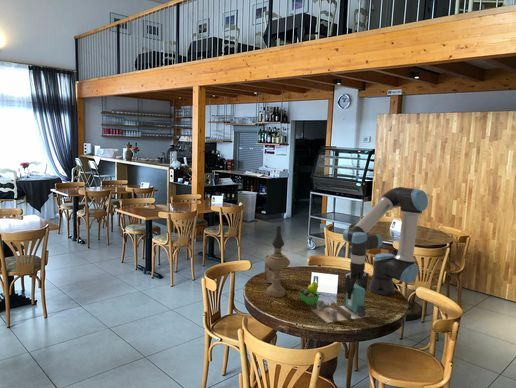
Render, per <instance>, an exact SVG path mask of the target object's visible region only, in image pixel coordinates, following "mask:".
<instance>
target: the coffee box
mask: <svg viewBox="0 0 516 388" xmlns="http://www.w3.org/2000/svg"><path fill="white" fill-rule="evenodd" d="M269 255H270V254H269ZM269 255H268V254H267V255H266V256H265V258H264V260H265V259H266V258H267V257H268V256H269ZM279 274H280V275H281V271H280V272H279ZM273 275H274V270H273V269H272V268H270V267H268V266H267V265H266V264H265V263H264V278H263V279H264V280H263V281H264V283H268V284H272V279H271V277H272V276H273Z"/></svg>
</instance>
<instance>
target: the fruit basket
mask: <svg viewBox="0 0 516 388" xmlns="http://www.w3.org/2000/svg"><path fill="white" fill-rule="evenodd" d="M318 287H319V285H318V282H316V281H313V282H312V283H311V284H309V285H308V286H307V289H301V290H300V289H299V291H298V292H299V296H300V300H301V301H302V302H304V304H306V305H308V306H309V305H317V301H318V300H319V298H320V295H319V294H317V292H318Z"/></svg>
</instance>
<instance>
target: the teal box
mask: <svg viewBox="0 0 516 388" xmlns="http://www.w3.org/2000/svg"><path fill="white" fill-rule="evenodd" d="M345 293H346V292H345ZM352 294H353V302H352V306H350V305H349V304H348V298H347V297H348V293H346V295H345V297H346V306H347V307H348V308H350V309H351V310H353V311H354V312H358V308H359V306H365V294H366V291H365V289H364V288H362V287H360V286H359V285H358V283H355V284H354V287H353V291H352Z"/></svg>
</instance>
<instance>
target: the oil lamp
mask: <svg viewBox="0 0 516 388" xmlns="http://www.w3.org/2000/svg"><path fill="white" fill-rule="evenodd" d="M275 232H276V233H275V236H274V238H273V240H272V242H271V245H272V246H273V250H274V252H273V253H271V254H269V256H268V257H267V258H266V257H265V258H266V259H265V258H264V265H265V264H266V265H267V266H268V267H270V268H272V269H273V270H274V275H273V276H272V277H271V279H272V283H271V285H270V286H268V287H267V288H266V295H268V296H270V297H273V298H280V297H284V296H285V295H286V290H285V288H284V287H283V286H282V285H281V281H282V276H281V271H282V270H284V269H286V268H288V267H289V265H290V264H291V262H290V259H289V258H288V257H287V256H286V255H285V254H283V253H282V251H283V249H282V248H283V247H284V245H285V243H284V242H285V241H284V239H283V237H282V225H281V226H280V225H276V231H275ZM279 272H280V274H279Z"/></svg>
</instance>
